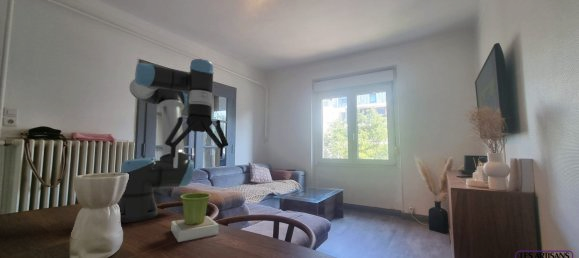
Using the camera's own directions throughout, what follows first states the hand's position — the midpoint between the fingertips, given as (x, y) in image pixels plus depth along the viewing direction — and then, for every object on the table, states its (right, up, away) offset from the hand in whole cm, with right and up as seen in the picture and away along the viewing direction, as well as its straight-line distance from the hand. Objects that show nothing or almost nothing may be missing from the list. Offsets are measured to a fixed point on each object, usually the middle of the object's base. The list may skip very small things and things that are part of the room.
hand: (197, 167), depth 80 cm
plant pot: (0, -18, -2) cm, 18 cm away
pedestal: (0, -21, -2) cm, 21 cm away
